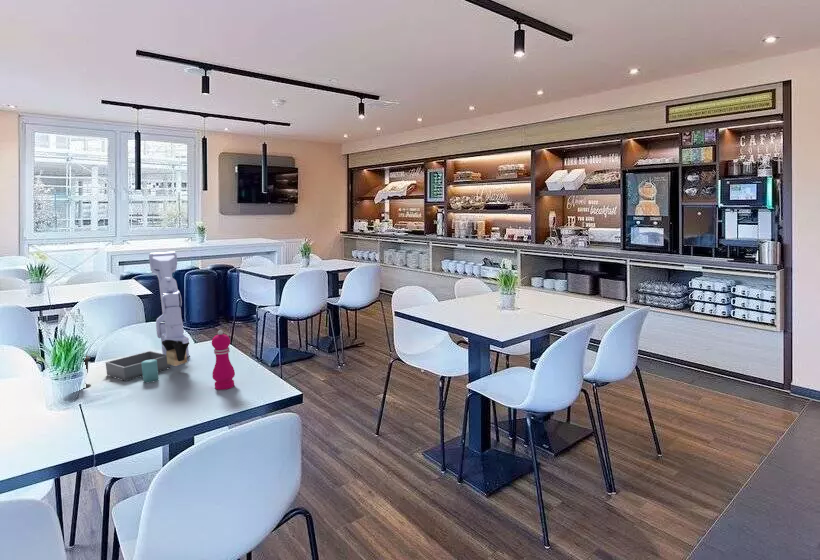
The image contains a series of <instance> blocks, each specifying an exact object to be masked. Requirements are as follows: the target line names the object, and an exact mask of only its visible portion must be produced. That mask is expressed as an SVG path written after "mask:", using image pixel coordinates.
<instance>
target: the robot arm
mask: <svg viewBox="0 0 820 560" xmlns="http://www.w3.org/2000/svg"><path fill="white" fill-rule="evenodd" d="M148 259H149V266H150V267H149V268H150V271H151V274H153V275H156V276H157V279H158V286H159V294H160V302H161V312H162V314H161V315H159V316H158V317H157V318H156V320H155V329H156V336H157V338H158V339H160V343H161V352H162V353H161V354H165V355H166V351H169V350H172V349H175V351H176V354H177V359H178V361H183V360H184V358H185V353H186V354H187V358H188V357H189V358H190V357H191V354H189V353H190V351H189V345H190V340H189V339H190V338H189V337H187V336H186V335H184V333H185V332H184V331H185V330H184V324H183V323H184V322H183V318H182V308H181V307H182V305H183V304H182V303H183V301H182V299H183V298H182V295H181V292H180V290H179V289H178V283H177V280H176V279H175V278H174V277H173V273H175V272H176V271H177V269H178V268H177V267H178V257H177V252H176V251H174V250H173V251H164V252H163V251H162V252H161V251H160V252H150V253H149V254H148Z"/></svg>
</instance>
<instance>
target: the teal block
mask: <svg viewBox="0 0 820 560" xmlns="http://www.w3.org/2000/svg"><path fill="white" fill-rule="evenodd" d="M141 364H142V373H143V376H142V381H144V382H143V383H145V382H149V383H154V382H153V381H155V382H157V381H159V380H158V379H160V378H159V377H160V376H159V371H158V366H157V360H155V359H152V360H145V361H143V362H141Z"/></svg>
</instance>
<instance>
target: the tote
mask: <svg viewBox="0 0 820 560" xmlns="http://www.w3.org/2000/svg"><path fill="white" fill-rule="evenodd" d="M152 359H155V360H157V366H158V372H161V371H160V370H162V371H165V370H168V369H167V368H169V369H171V365H169V364H167V356H166V355H165V354H162V353H160V352H157V351H153V350H149V351H144V352H141V353H138V354H132V355H129V356H124V357H121V358H116V359H113V360H109V361H106V362H105V368H106V375H107V376H108V375H110V376H109V377H111V376H112V378H114V377H116V378H115V379H117V378H119V379H118V380H120V379H122V380H121V381H123V380H124V382H127V381H130V379H131V380H133V378H134V379H137V378H136V377H138V378H141V377H143V373H142V364H141V362H143V361H145V360H152ZM164 369H165V370H164ZM140 376H141V377H140ZM126 380H127V381H126Z"/></svg>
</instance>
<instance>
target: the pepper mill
mask: <svg viewBox="0 0 820 560" xmlns="http://www.w3.org/2000/svg"><path fill="white" fill-rule="evenodd" d="M230 345H231V338H230V337H229V335H228V334H225V333H224V331H223V330H222V329H219V330H217V334H216V335H214V337H213V338H212V339H211V346H212V347H213V348H214V349H213V353H214V355H215V363H214V367H213V371H212V379H213V381H214V389H216V390H219V391H221V390H229V389H232V388H234V387H235V380H234V377H235V376H236V375H235V369H234V366H233V364H232V363H231V360H230V357H229V356H230V355H229V353H230V352H231V351H230V347H229V346H230Z"/></svg>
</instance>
